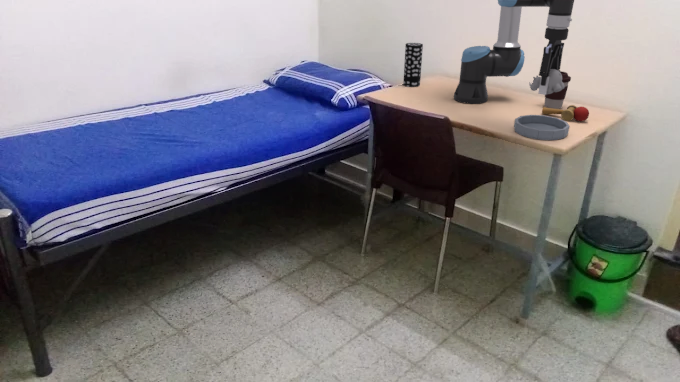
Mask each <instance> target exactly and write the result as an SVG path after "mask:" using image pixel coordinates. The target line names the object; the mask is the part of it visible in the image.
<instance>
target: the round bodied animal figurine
mask: <svg viewBox="0 0 680 382" xmlns="http://www.w3.org/2000/svg"><path fill="white" fill-rule="evenodd" d="M540 80H541V76H539V75H536V76H533V81H532V82H530V81H529V83H528V84H529V88H530V90H531V91H534V92H536V91H538V90H539V86H540ZM564 88H565V86H564V83H563V82H562V75H561V73H560V72H559V71H558V70H556V69H550V72H549V82H548V88H547V94H551V93H553V92H559V91H561V90H562V89H564Z"/></svg>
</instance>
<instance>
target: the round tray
mask: <svg viewBox="0 0 680 382" xmlns="http://www.w3.org/2000/svg"><path fill="white" fill-rule="evenodd" d="M513 124H514V125H513V127H514V132H515V133H516V134H518V135H520V136H522V137H525V138H529V139H533V140H540V141H557V140H558V139H559V140H561V139H565V138H566V137H567V135H569V131H570V128H571V127H570V125H569V123H568V121H565V120H563V119H562V118H561V119H560V118H558V117H554V116H548V115H546V114H526V115H519V116H518V117H516V118H515V119H514V123H513Z"/></svg>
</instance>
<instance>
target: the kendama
mask: <svg viewBox="0 0 680 382" xmlns="http://www.w3.org/2000/svg"><path fill="white" fill-rule="evenodd" d="M541 115H560V116H561V120H563V121H566V122H570V121H572V120H573V119H574V121H576V122H585V121H586V120H588V119H589V115H590V112H589V110H588V108H587V107H585V106H576V104H571V105H568V106H567V107H566V109H562V108H560V109H553V108H547V107H545V106H544V107H542V110H541Z"/></svg>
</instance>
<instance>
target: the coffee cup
mask: <svg viewBox="0 0 680 382" xmlns="http://www.w3.org/2000/svg"><path fill="white" fill-rule="evenodd" d="M560 73H561V75H562V82H563V83H564V86H565V88H564V89H562V90H561V91H559V92H553V93H551V94H546V95H544V105H543V106H544V107H546V108H553V109H562V108H563V104H564V100H565V99H566V95H567V91H568V87H569V83H570V82H571V79H572V77H571V76H570V75H569V73H568V72H566V71H561V70H560Z"/></svg>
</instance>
